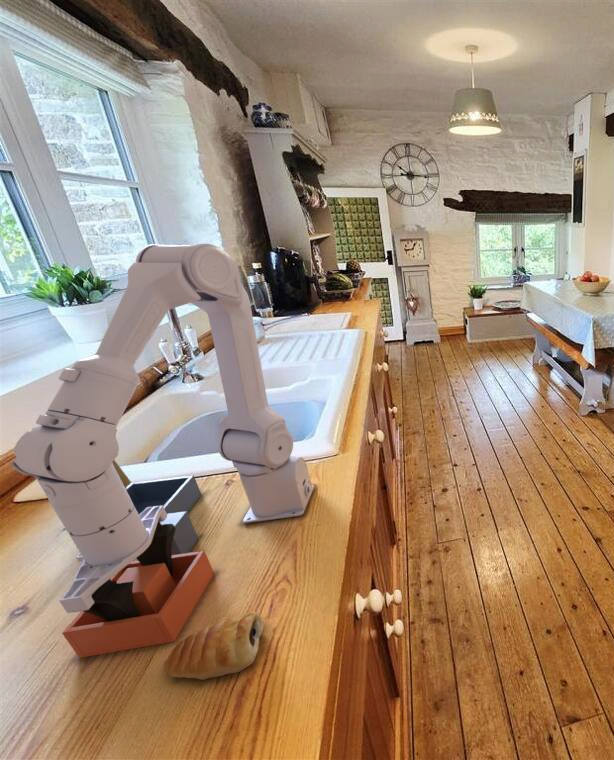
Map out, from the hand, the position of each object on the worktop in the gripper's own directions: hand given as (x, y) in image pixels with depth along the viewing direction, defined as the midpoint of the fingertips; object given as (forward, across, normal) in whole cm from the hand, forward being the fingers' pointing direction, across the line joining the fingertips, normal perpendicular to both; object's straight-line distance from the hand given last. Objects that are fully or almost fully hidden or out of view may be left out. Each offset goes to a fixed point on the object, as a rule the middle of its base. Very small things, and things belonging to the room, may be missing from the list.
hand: (147, 600), depth 53 cm
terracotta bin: (+2, 0, 0) cm, 2 cm away
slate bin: (+2, -20, -11) cm, 23 cm away
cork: (+2, -28, -22) cm, 36 cm away
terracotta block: (+2, 0, 0) cm, 2 cm away
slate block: (+2, -11, -3) cm, 12 cm away
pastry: (+2, +8, +12) cm, 15 cm away
